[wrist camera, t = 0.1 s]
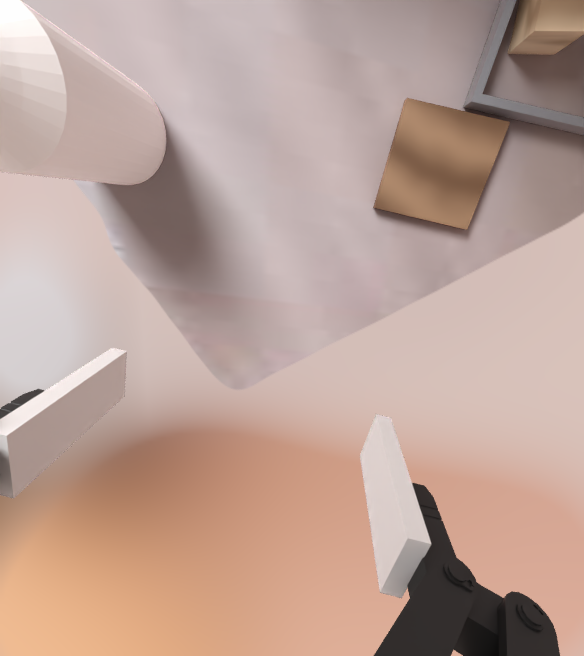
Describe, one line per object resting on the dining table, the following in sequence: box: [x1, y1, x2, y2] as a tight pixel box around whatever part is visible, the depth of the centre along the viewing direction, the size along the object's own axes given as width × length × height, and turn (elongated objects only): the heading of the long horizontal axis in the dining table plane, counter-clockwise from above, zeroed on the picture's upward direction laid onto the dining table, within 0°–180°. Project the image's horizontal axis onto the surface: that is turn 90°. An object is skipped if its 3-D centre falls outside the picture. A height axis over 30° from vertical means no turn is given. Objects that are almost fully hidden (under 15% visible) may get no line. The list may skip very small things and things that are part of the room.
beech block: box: [508, 0, 584, 55], centre depth 30 cm, size 4×4×4 cm
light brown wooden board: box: [373, 98, 510, 230], centre depth 36 cm, size 11×11×1 cm
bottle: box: [0, 0, 166, 185], centre depth 27 cm, size 12×12×25 cm
